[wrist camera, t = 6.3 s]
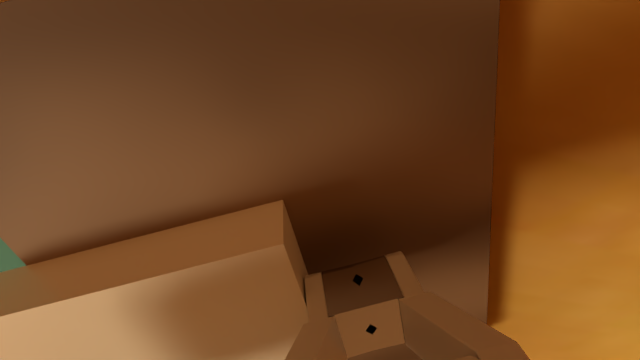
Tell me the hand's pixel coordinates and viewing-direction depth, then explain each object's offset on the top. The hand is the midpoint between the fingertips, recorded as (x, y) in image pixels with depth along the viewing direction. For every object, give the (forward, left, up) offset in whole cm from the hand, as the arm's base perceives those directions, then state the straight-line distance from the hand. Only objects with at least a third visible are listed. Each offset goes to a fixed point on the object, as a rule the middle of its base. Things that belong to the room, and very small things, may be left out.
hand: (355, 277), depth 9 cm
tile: (0, +6, -1) cm, 6 cm away
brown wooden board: (0, +2, -3) cm, 4 cm away
